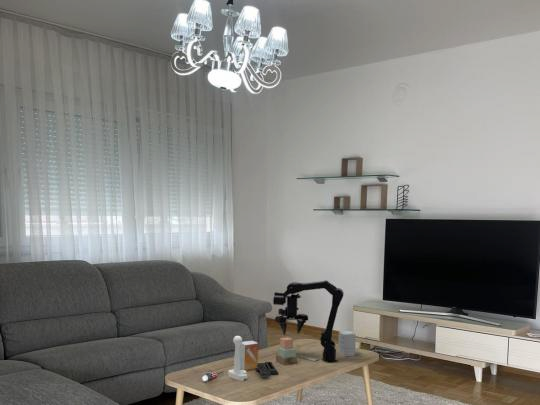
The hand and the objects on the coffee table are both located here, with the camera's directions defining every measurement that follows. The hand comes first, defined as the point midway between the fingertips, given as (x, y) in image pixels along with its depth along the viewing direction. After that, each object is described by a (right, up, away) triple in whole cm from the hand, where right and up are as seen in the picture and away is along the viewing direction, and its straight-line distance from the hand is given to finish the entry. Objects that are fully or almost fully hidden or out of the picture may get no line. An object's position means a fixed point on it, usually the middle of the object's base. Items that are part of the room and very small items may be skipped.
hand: (291, 333), depth 275 cm
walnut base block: (-3, -13, -9) cm, 16 cm away
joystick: (-27, -12, -34) cm, 45 cm away
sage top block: (-3, -9, -9) cm, 13 cm away
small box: (-23, -12, -21) cm, 33 cm away
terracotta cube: (-3, -5, -9) cm, 11 cm away
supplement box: (+32, -14, +8) cm, 36 cm away
